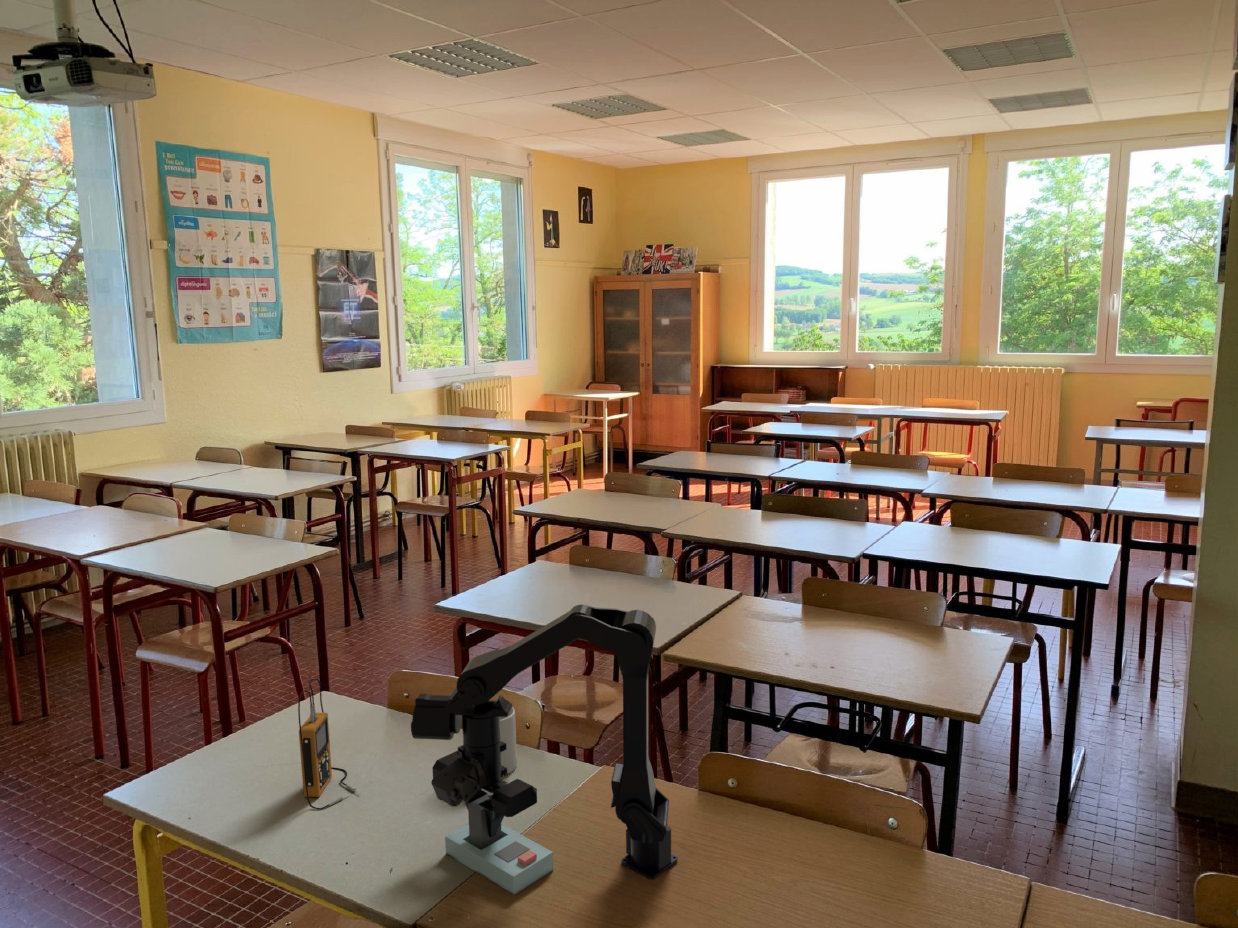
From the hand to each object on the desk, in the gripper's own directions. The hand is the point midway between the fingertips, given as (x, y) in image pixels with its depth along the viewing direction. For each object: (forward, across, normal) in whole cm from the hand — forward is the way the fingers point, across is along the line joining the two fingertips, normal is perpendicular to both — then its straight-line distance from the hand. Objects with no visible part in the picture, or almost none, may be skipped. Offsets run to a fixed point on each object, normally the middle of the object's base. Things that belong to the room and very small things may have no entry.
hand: (485, 832), depth 143 cm
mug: (+4, -21, +21) cm, 30 cm away
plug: (+3, 0, 0) cm, 3 cm away
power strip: (+4, +3, 0) cm, 5 cm away
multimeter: (+4, -36, -4) cm, 36 cm away
